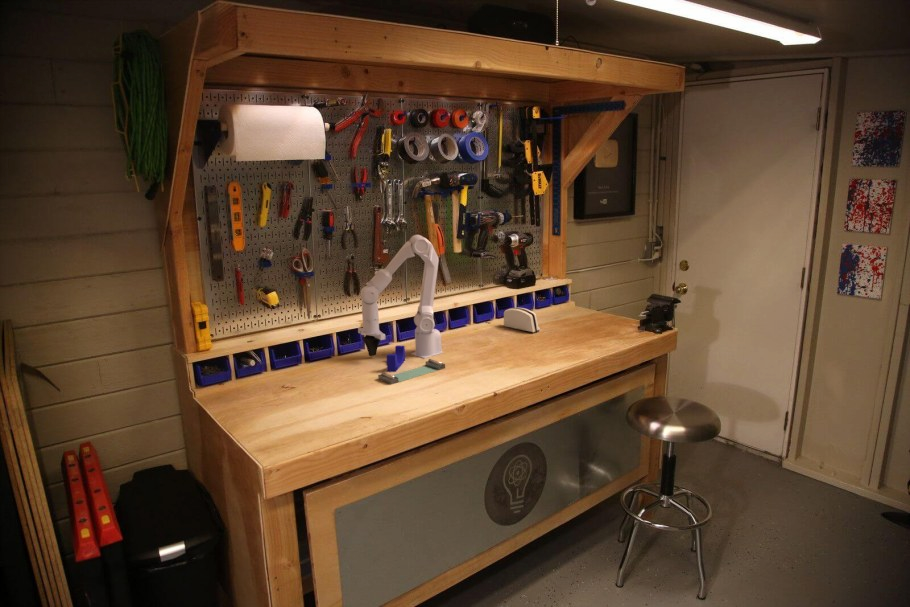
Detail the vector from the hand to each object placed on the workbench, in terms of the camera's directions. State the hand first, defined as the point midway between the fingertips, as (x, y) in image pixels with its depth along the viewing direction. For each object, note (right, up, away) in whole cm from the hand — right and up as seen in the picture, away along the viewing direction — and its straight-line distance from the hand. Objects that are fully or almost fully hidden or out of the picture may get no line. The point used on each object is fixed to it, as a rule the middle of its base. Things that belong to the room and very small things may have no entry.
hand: (372, 355), depth 223 cm
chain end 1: (+8, -6, -23) cm, 26 cm away
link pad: (+16, -5, -17) cm, 24 cm away
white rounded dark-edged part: (+58, +7, +36) cm, 69 cm away
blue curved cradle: (+9, -3, -8) cm, 13 cm away
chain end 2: (+23, -3, -10) cm, 26 cm away
